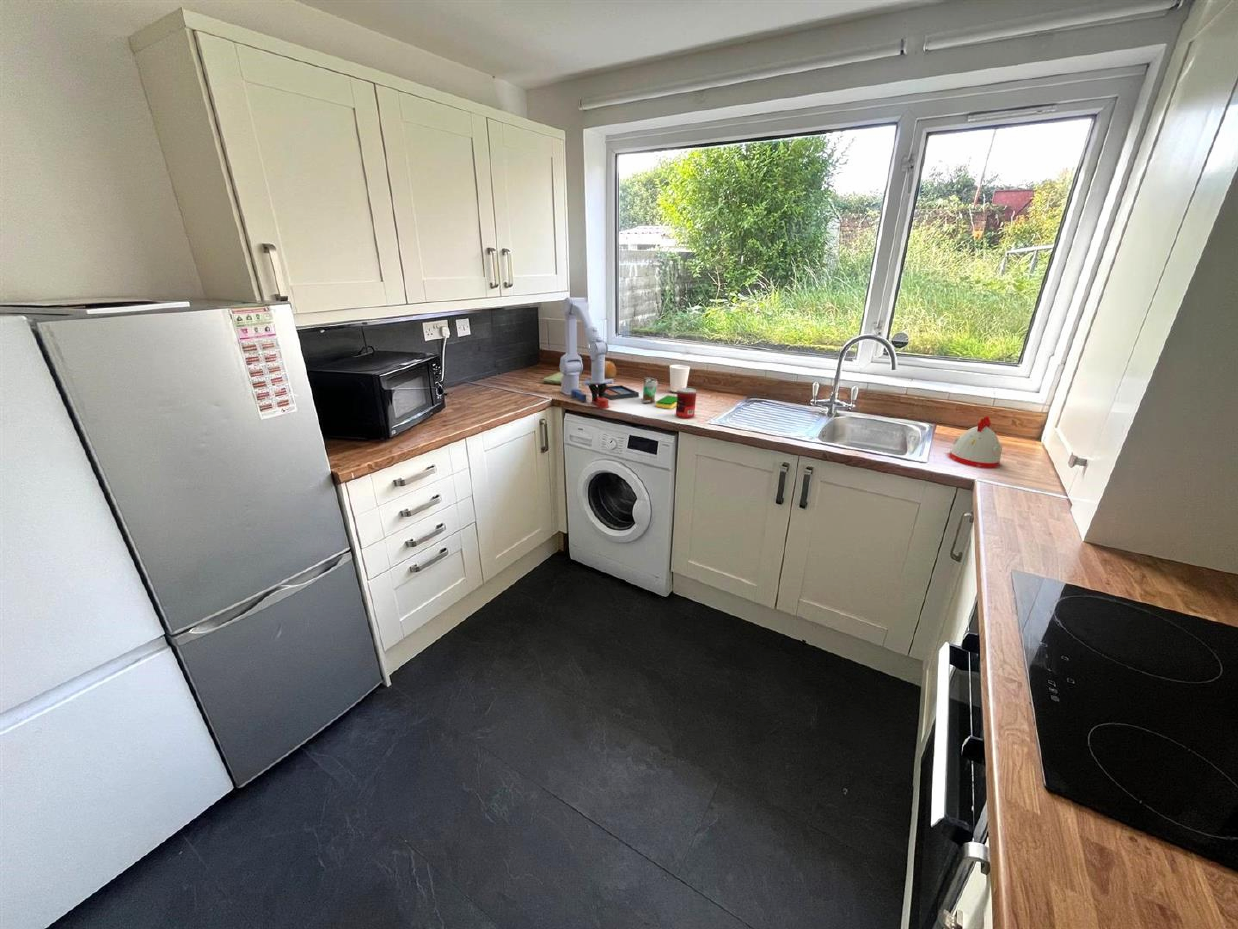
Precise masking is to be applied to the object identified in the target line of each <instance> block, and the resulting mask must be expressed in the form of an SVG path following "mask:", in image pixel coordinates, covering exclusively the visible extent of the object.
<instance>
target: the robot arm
mask: <svg viewBox="0 0 1238 929" xmlns="http://www.w3.org/2000/svg"><path fill="white" fill-rule="evenodd" d="M589 310H590V304H589V300H588V298H587V297H586V296H583V297H570V296H569V297H567V296H566V297H565V298H564V300H563V301H562V312H563V313H562V315H563V316H564V318H565V319H564V322H565V326H564V327H565V353H564V354H563V355H562V356H561V357H560V362H559V371H560V372H561V373H562V374H563V375H562V377H561V385H560V389H559V392H561V393H562V394H564V395H566V396H571V390H573V389H579V390H580V375H581V373H582V372H583V370H584V364H583V360H582V359H583V358H582V357H581V356H580V354H578V327H577V326H578V323H577V322H578V321H577V319H578V318H579V320H580V321H581V324H582V325H583V327H584V329H585V330H584V336H585V338H586V340H587V343H588V346H589V347H588V353H589V358H590V361H591V366H590V367H591V369H590V371H591V373H590V375H591V376H590V379H586V380H581V386H582V387H588V388H589V391H590V393H591V398H592V397H593V401H595V402H597V395H598V396H600V397H602V398H604V396H603V395H604V392H605V390H606V389H607V386H608V385H614V382H615V380H614V378H613V379H604V375H605V361H606V355H607V354H608V353H609V345H608V343H607V342H606V340H604V339H602V337H601V334H600V332H599V330H598V327H596V326H594V324H593V322H592V319H591V316H590V313H589ZM597 390H598V393H597Z"/></svg>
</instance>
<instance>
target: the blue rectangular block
mask: <svg viewBox="0 0 1238 929" xmlns="http://www.w3.org/2000/svg"><path fill="white" fill-rule="evenodd" d="M570 398H571V399H575V400H577V401H579V402H580V403H587V394H586V393H584V392H582V389H580V388H579V389H573V390H571V395H570Z"/></svg>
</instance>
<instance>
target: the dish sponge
mask: <svg viewBox="0 0 1238 929" xmlns="http://www.w3.org/2000/svg"><path fill="white" fill-rule="evenodd" d="M676 404H677V396H676V395H666V396H664V397H662V398H659V400H657V401H656V403H655V407H656V408H662V409H669V410H672V409H673V408H676Z"/></svg>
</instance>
